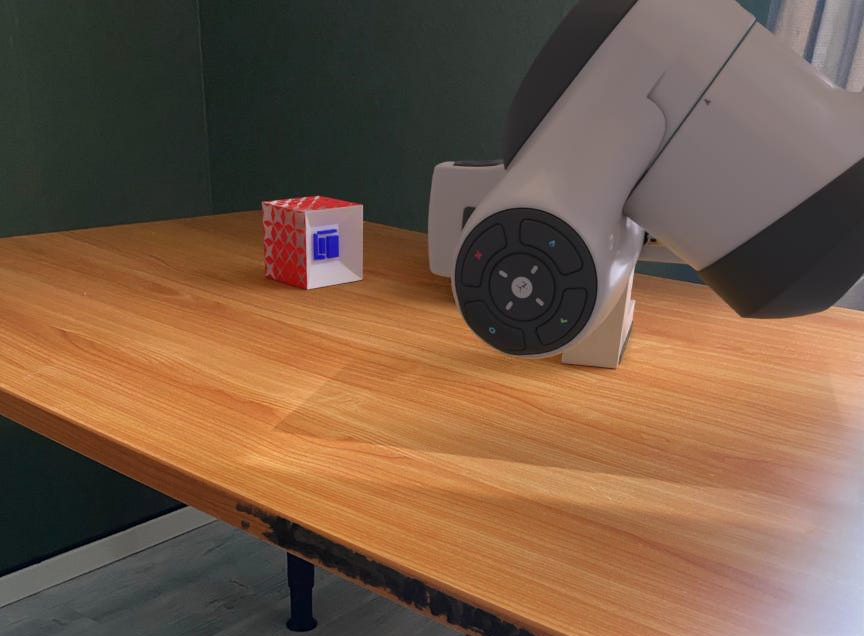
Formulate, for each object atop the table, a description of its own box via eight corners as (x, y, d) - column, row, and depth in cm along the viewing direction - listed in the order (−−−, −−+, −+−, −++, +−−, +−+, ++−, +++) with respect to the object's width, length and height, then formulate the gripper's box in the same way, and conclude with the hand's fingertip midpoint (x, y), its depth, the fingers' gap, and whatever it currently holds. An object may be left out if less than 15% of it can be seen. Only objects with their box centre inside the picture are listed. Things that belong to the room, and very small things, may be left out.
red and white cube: (319, 267, 118) (318, 195, 114) (362, 279, 113) (362, 204, 109) (264, 277, 113) (261, 202, 109) (306, 289, 108) (304, 211, 104)
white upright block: (617, 369, 85) (638, 219, 79) (559, 363, 87) (576, 215, 80) (632, 329, 96) (651, 195, 90) (580, 324, 98) (596, 192, 91)
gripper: (763, 184, 55) (759, 157, 66) (408, 162, 60) (461, 141, 71) (739, 301, 58) (739, 256, 70) (405, 271, 63) (456, 234, 74)
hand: (596, 198), depth 70 cm, fingers open, 8 cm apart
